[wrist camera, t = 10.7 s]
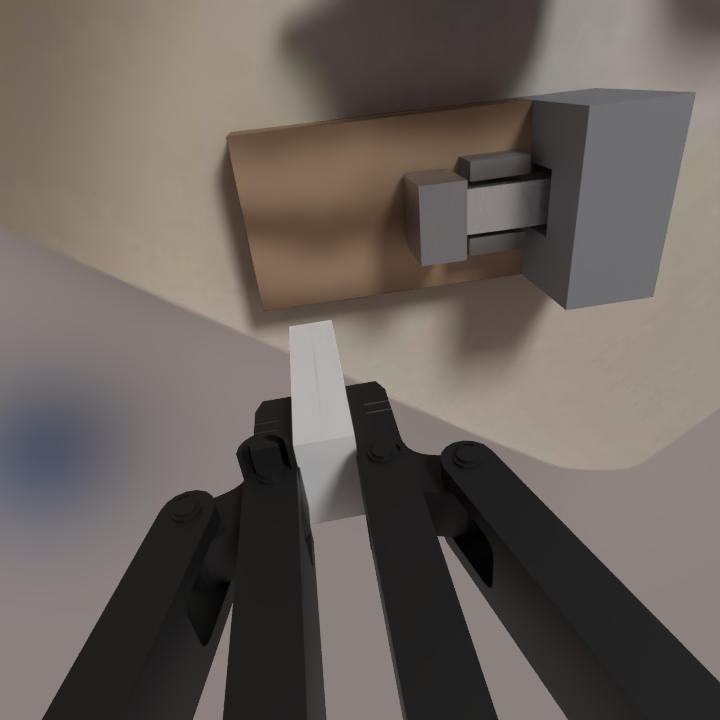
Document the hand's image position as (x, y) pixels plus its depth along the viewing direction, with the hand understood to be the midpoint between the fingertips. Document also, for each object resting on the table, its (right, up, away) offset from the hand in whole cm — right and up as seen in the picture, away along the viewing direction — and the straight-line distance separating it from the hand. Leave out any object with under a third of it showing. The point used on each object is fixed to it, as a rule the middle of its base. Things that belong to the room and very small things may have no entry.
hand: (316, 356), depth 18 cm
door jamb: (+16, +14, +20) cm, 29 cm away
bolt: (+11, +11, +17) cm, 23 cm away
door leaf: (+3, +12, +20) cm, 23 cm away
